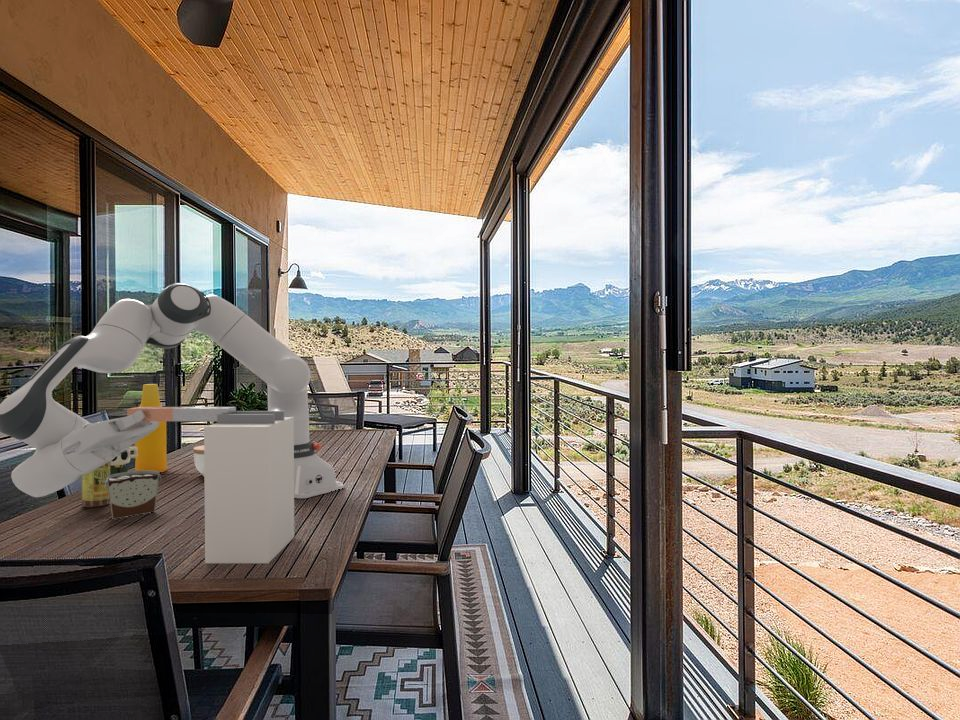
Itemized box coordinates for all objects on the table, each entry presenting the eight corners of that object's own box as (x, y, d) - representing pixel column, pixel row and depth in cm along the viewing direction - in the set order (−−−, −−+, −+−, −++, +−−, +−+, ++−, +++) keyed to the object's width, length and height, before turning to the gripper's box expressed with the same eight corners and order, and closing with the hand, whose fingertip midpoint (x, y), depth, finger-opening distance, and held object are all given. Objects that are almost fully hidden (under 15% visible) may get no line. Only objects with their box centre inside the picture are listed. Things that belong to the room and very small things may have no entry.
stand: (205, 563, 115) (203, 417, 114) (238, 537, 131) (237, 408, 130) (268, 563, 115) (267, 417, 114) (294, 537, 131) (293, 408, 130)
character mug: (97, 491, 173) (97, 445, 173) (93, 486, 178) (93, 442, 178) (140, 485, 180) (140, 442, 180) (135, 481, 185) (134, 439, 185)
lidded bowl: (192, 480, 187) (192, 444, 187) (194, 472, 199) (193, 439, 198) (236, 476, 192) (236, 442, 192) (235, 469, 204) (235, 437, 203)
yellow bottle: (151, 468, 206) (150, 383, 206) (173, 469, 203) (172, 383, 203) (128, 473, 197) (127, 385, 197) (151, 475, 195) (150, 385, 194)
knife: (127, 421, 120) (127, 408, 120) (138, 418, 124) (138, 406, 124) (227, 421, 120) (227, 408, 120) (236, 418, 124) (235, 406, 124)
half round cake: (154, 506, 156) (153, 468, 156) (161, 511, 152) (161, 471, 151) (98, 515, 147) (98, 475, 147) (105, 521, 143) (104, 478, 143)
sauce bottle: (96, 509, 153) (95, 431, 153) (75, 507, 155) (74, 430, 154) (116, 502, 160) (115, 427, 159) (96, 501, 161) (95, 427, 161)
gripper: (47, 440, 112) (112, 403, 112) (114, 426, 132) (169, 394, 132) (65, 469, 112) (129, 432, 112) (129, 450, 132) (183, 419, 132)
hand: (151, 411), depth 122 cm, fingers closed on knife, 4 cm apart
